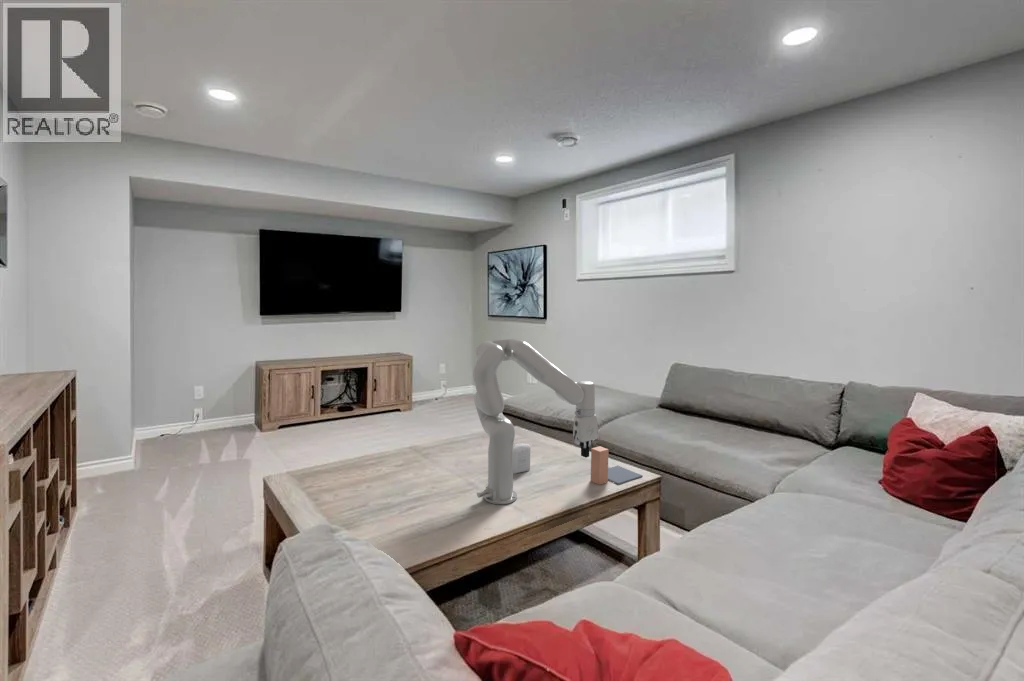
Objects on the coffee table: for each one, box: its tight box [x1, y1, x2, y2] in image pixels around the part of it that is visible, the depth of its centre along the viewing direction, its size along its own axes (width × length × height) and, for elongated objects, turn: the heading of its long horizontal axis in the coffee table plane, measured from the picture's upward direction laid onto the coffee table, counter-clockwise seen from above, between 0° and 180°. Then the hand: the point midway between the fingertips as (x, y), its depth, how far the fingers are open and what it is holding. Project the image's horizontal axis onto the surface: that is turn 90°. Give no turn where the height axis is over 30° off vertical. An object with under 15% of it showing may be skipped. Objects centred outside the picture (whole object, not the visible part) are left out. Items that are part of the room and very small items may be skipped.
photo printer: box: [513, 442, 531, 475], centre depth 210 cm, size 10×4×12 cm, turn 123°
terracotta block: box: [590, 445, 610, 486], centre depth 199 cm, size 5×5×14 cm
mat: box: [608, 465, 643, 485], centre depth 207 cm, size 15×14×1 cm
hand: (585, 456), depth 194 cm, fingers closed
